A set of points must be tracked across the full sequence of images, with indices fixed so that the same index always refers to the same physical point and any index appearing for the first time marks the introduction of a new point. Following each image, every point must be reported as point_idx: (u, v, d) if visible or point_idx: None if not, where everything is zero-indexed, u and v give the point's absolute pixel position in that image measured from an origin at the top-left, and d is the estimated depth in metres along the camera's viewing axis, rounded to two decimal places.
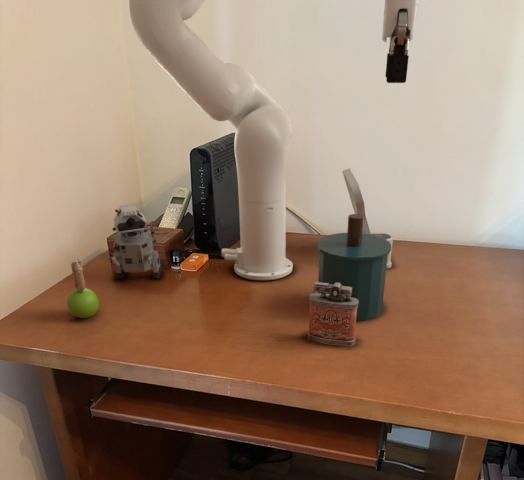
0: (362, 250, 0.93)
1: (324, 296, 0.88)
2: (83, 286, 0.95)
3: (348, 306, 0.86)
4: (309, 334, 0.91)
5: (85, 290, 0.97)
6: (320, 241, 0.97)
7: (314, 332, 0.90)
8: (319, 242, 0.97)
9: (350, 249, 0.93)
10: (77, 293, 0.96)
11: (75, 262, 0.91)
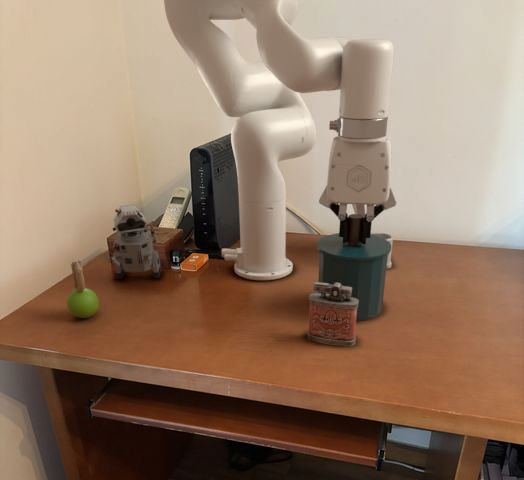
0: (362, 250, 0.93)
1: (324, 296, 0.88)
2: (83, 286, 0.95)
3: (348, 306, 0.86)
4: (309, 334, 0.91)
5: (85, 290, 0.97)
6: (320, 241, 0.97)
7: (314, 332, 0.90)
8: (319, 242, 0.97)
9: (350, 249, 0.93)
10: (77, 293, 0.96)
11: (75, 262, 0.91)
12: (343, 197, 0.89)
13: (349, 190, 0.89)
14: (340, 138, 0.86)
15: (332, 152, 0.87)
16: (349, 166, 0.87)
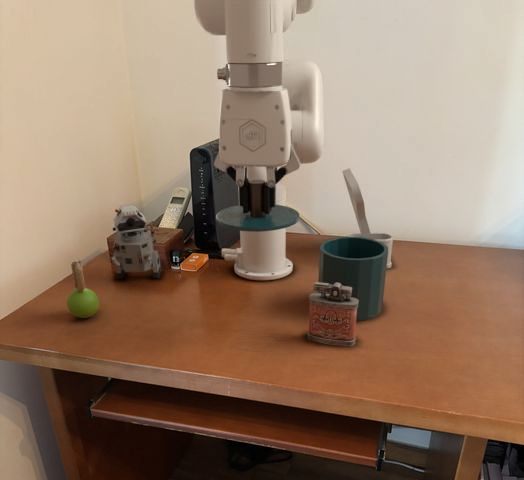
0: (263, 220, 0.81)
1: (324, 296, 0.88)
2: (83, 286, 0.95)
3: (348, 306, 0.86)
4: (309, 334, 0.91)
5: (85, 290, 0.97)
6: (221, 212, 0.86)
7: (314, 332, 0.90)
8: (219, 213, 0.85)
9: (251, 220, 0.82)
10: (77, 293, 0.96)
11: (75, 262, 0.91)
12: (237, 158, 0.78)
13: (243, 150, 0.77)
14: (229, 88, 0.74)
15: (221, 105, 0.75)
16: (240, 121, 0.75)
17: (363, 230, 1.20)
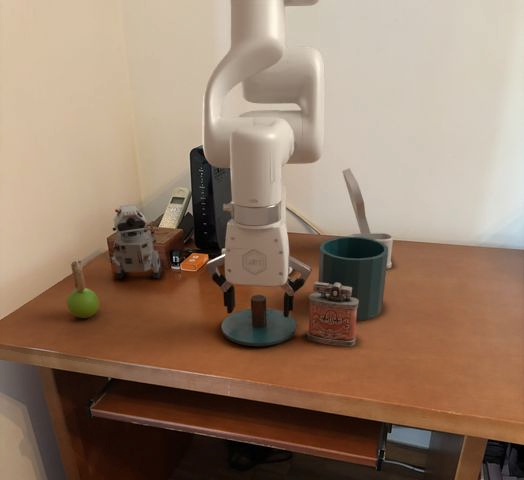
0: (264, 333, 0.91)
1: (324, 296, 0.88)
2: (83, 286, 0.95)
3: (348, 306, 0.86)
4: (309, 334, 0.91)
5: (85, 290, 0.97)
6: (226, 320, 0.95)
7: (314, 332, 0.90)
8: (224, 321, 0.95)
9: (253, 332, 0.91)
10: (77, 293, 0.96)
11: (75, 262, 0.91)
12: (241, 279, 0.87)
13: (246, 273, 0.87)
14: (233, 222, 0.84)
15: (226, 236, 0.85)
16: (244, 250, 0.85)
17: (363, 230, 1.20)
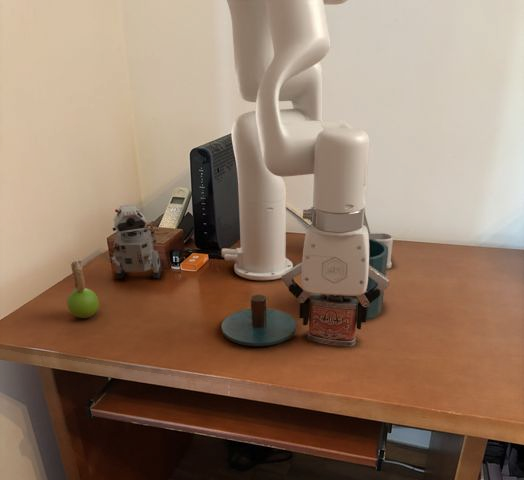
0: (264, 333, 0.91)
1: (324, 296, 0.88)
2: (83, 286, 0.95)
3: (348, 306, 0.86)
4: (309, 334, 0.91)
5: (85, 290, 0.97)
6: (226, 320, 0.95)
7: (314, 332, 0.90)
8: (224, 321, 0.95)
9: (253, 332, 0.91)
10: (77, 293, 0.96)
11: (75, 262, 0.91)
12: (318, 288, 0.84)
13: (324, 281, 0.83)
14: (314, 229, 0.80)
15: (306, 243, 0.81)
16: (324, 258, 0.81)
17: None
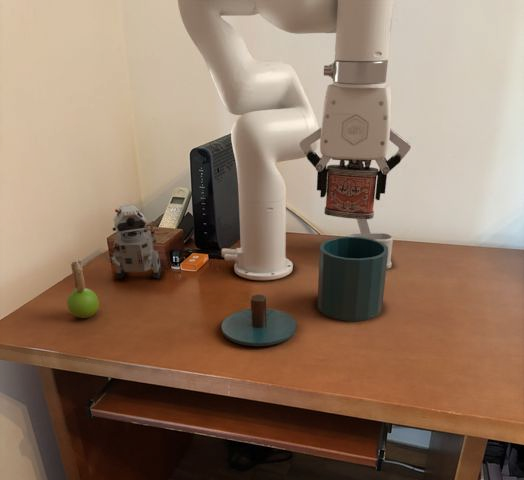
0: (264, 333, 0.91)
1: (343, 165, 0.85)
2: (83, 286, 0.95)
3: (367, 173, 0.84)
4: (326, 209, 0.89)
5: (85, 290, 0.97)
6: (226, 320, 0.95)
7: (332, 205, 0.88)
8: (224, 321, 0.95)
9: (253, 332, 0.91)
10: (77, 293, 0.96)
11: (75, 262, 0.91)
12: (338, 151, 0.82)
13: (344, 143, 0.81)
14: (335, 84, 0.78)
15: (326, 100, 0.79)
16: (344, 116, 0.79)
17: (363, 230, 1.20)
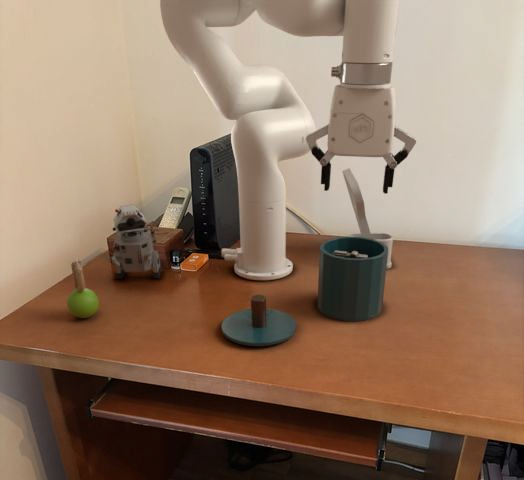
0: (264, 333, 0.91)
1: None
2: (83, 286, 0.95)
3: None
4: None
5: (85, 290, 0.97)
6: (226, 320, 0.95)
7: None
8: (224, 321, 0.95)
9: (253, 332, 0.91)
10: (77, 293, 0.96)
11: (75, 262, 0.91)
12: (344, 149, 0.86)
13: (351, 141, 0.85)
14: (342, 85, 0.82)
15: (334, 100, 0.83)
16: (351, 115, 0.83)
17: (363, 230, 1.20)
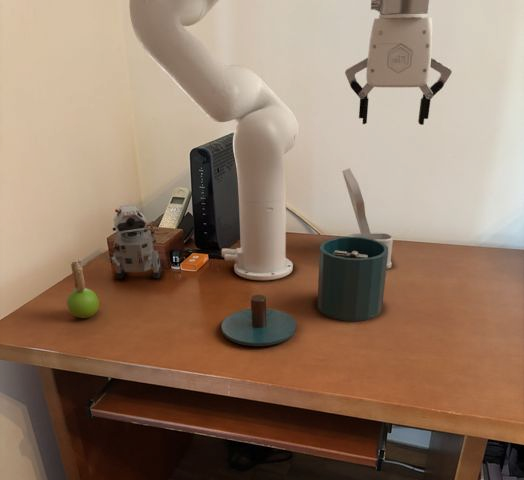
0: (264, 333, 0.91)
1: None
2: (83, 286, 0.95)
3: None
4: None
5: (85, 290, 0.97)
6: (226, 320, 0.95)
7: None
8: (224, 321, 0.95)
9: (253, 332, 0.91)
10: (77, 293, 0.96)
11: (75, 262, 0.91)
12: (383, 79, 0.90)
13: (389, 72, 0.89)
14: (382, 16, 0.86)
15: (373, 31, 0.87)
16: (390, 45, 0.87)
17: (363, 230, 1.20)
